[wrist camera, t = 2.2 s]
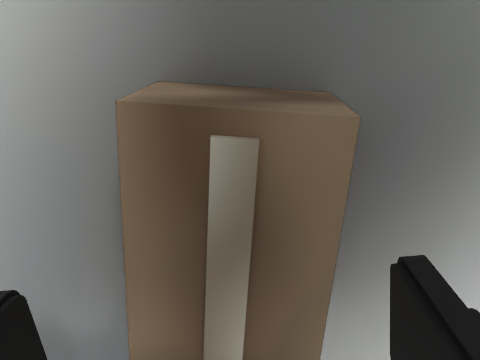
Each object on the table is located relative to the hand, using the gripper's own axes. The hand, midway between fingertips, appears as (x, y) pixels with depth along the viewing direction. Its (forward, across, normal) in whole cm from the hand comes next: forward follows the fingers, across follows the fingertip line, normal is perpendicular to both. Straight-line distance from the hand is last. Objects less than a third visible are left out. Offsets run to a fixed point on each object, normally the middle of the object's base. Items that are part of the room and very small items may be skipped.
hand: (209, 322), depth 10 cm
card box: (+6, 0, -1) cm, 6 cm away
